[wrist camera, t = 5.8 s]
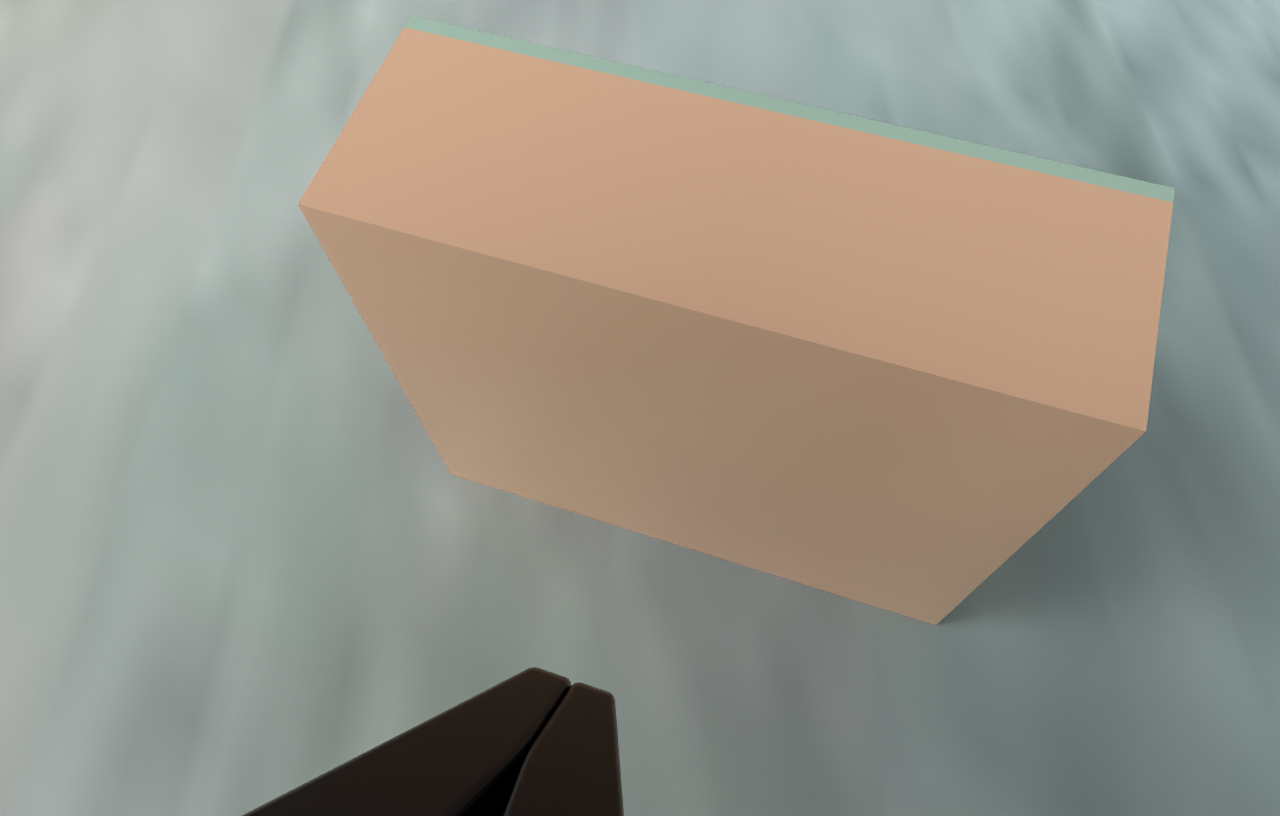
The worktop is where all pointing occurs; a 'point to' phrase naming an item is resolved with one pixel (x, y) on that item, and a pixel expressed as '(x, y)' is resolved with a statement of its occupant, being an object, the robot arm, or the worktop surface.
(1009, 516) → the tile
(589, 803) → the robot arm
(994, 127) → the worktop surface
